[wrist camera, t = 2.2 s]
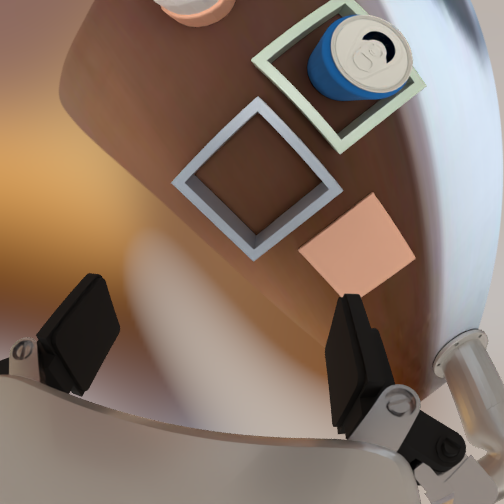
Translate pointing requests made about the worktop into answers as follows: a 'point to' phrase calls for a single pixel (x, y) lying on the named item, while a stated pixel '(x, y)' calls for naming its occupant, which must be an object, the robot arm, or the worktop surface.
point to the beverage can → (360, 59)
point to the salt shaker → (196, 10)
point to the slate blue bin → (225, 217)
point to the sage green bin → (339, 142)
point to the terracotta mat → (358, 249)
